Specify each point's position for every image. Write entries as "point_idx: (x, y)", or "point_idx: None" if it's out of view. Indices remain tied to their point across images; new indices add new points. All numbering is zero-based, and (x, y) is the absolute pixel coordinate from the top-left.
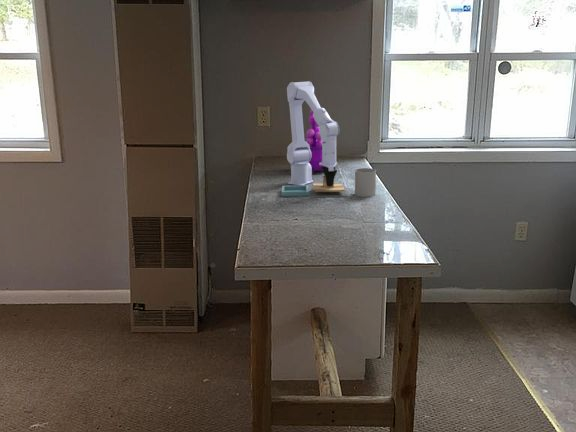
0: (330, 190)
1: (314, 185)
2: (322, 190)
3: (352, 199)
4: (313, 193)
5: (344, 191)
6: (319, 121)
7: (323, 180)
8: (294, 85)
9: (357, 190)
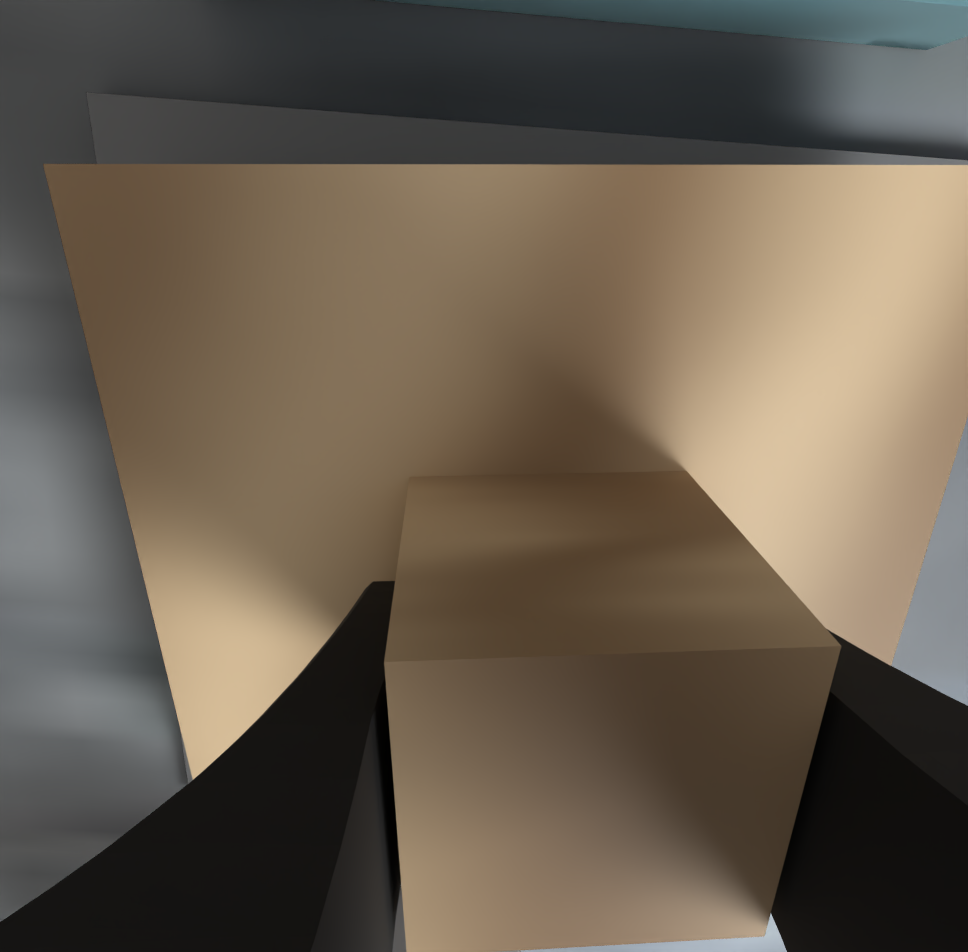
0: (161, 601)
1: (713, 203)
2: (110, 403)
3: (29, 840)
4: (424, 151)
5: None
6: None
7: (628, 556)
8: None
9: None
